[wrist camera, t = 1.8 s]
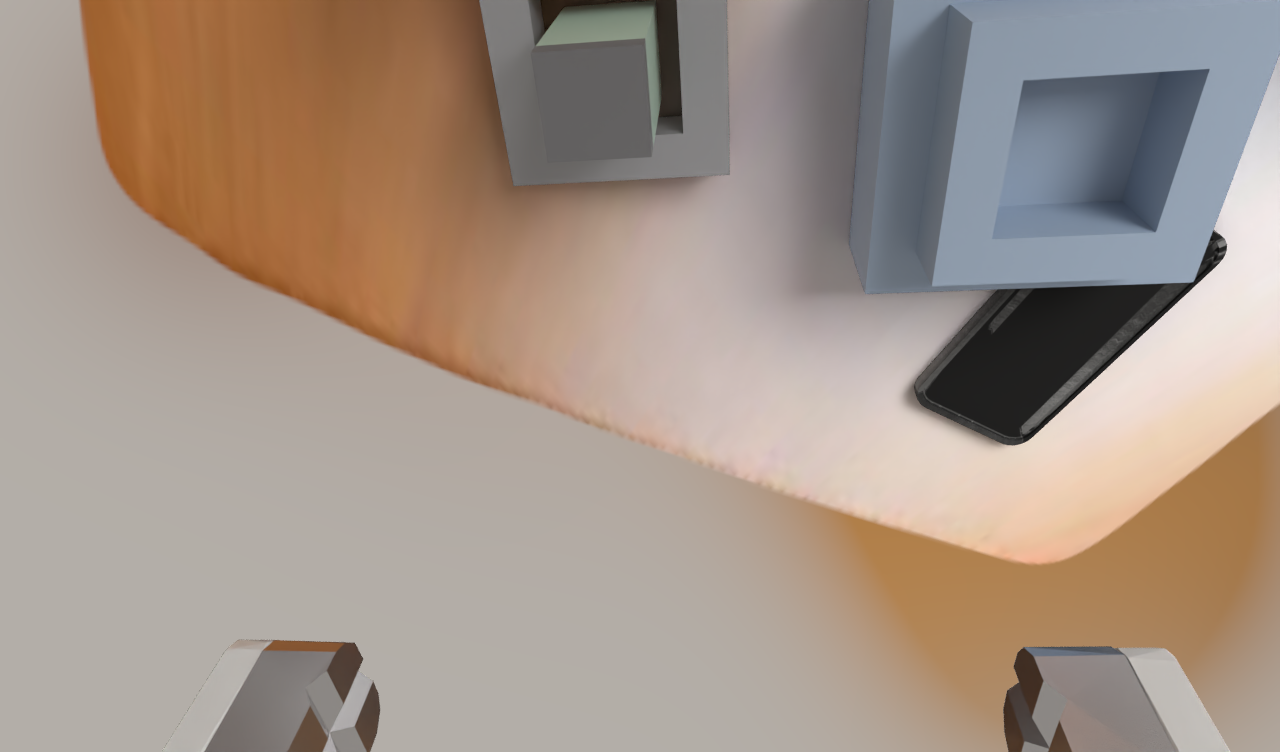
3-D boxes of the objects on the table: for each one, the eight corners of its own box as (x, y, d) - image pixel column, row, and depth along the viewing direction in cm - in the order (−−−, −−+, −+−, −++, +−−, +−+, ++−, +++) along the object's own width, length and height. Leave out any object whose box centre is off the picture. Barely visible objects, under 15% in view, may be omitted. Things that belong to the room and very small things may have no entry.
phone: (1238, 245, 37) (1017, 451, 46) (1225, 235, 38) (1011, 438, 46) (1111, 172, 36) (906, 399, 44) (1101, 163, 37) (902, 387, 45)
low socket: (483, -66, 32) (468, -58, 30) (724, -87, 31) (725, -80, 29) (523, 166, 38) (513, 186, 36) (728, 155, 37) (729, 174, 35)
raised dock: (874, -71, 31) (918, -41, 25) (1248, -103, 30) (1398, -79, 23) (849, 244, 39) (876, 329, 33) (1141, 232, 38) (1231, 318, 32)
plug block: (564, 6, 34) (530, 52, 27) (655, 0, 34) (643, 44, 27) (576, 100, 36) (547, 162, 30) (661, 94, 36) (651, 157, 29)
